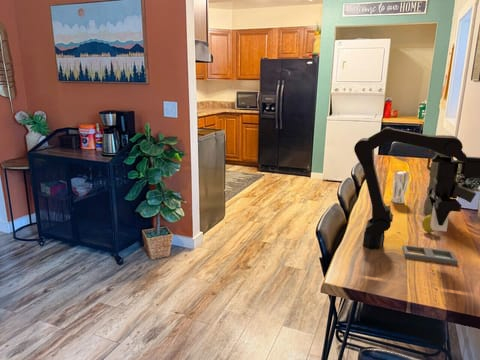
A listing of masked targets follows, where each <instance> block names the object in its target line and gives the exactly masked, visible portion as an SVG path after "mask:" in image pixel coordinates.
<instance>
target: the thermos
mask: <svg viewBox="0 0 480 360" xmlns="http://www.w3.org/2000/svg"><path fill="white" fill-rule="evenodd" d="M432 152H433V150H431V149H429V150H428V157H427V159H428V160H427V165H426V169H427V170H428V171H429V182H428V187H429V186H434V185H435V181H434V177H436V171H437V164H438V162H432V160H431V158H432ZM437 154H439V155H440V156H442V157H448V156H445V155H443V154H440V153H437V152H435V151H434V156H436V155H437ZM451 160H455V159H454V157H451ZM456 160H458V159H456ZM429 197H432V193H431V194H430V195H428V194H427V193H426V198H425V199H424V206H423V215H425V216H427V215H431V214H432V210H433V209H432V206H431V203H430V200H429Z"/></svg>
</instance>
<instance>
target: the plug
mask: <svg viewBox="0 0 480 360" xmlns="http://www.w3.org/2000/svg"><path fill="white" fill-rule="evenodd" d="M433 204H435V203H433ZM449 217H450V213H449V214H448V216H447V218H446V220H445V222H444V224H443V225H442V226H441V225H439V224H438V221H437V217H436V213H435V209H434V205H433V210H432V217H431V224H430V226H431V228H432V230H435V231H434V232H436V231H437V232H447V229H448V226H449Z"/></svg>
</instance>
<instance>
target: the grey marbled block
mask: <svg viewBox="0 0 480 360" xmlns="http://www.w3.org/2000/svg"><path fill="white" fill-rule="evenodd" d="M392 179H393V180H392V197H391V202H392V203H395V204H398V205H399V204H400V205H402V204H405V195H406V192H407V189H408V186H409V181H410V172H407V171H401V170H396V171H394V173H393V178H392Z"/></svg>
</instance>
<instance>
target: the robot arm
mask: <svg viewBox="0 0 480 360" xmlns="http://www.w3.org/2000/svg"><path fill="white" fill-rule="evenodd" d="M388 141H391V142H396V143H401V144H406V145H410V146H411V145H412V146H415V147H421V148H426V149H429V150H430V149H431V150H432V152H434V153H435V152H437V153H440V154H443V155H445V156H448V157H442V156H440V155H439V154H437V155H436V156H435V155H434V156H433V157H431V160H430V161H431V163H432V162H438V164H437V171H436V177H434V181H435V185H434V186H429V185H428V187H427V188H426V195H427V194H428V195H430V194H431V193H432V197H429V200H430V203H431V206H432V209H433V205H434V209H435V213H436V217H437V221H438V224H439V225H441V226H442V225H443V224H444V222H445V220H446V218H447V216H448V214H449V215H450V213H451V212H456V213H457V212H458V213H459V212H461V210H462V204H461V203H460V202H459V201H458V200H457V199H458V198H459V199H462V200H464V201H466V202H468V203H472V201H473V200H474V199H475V197H476V195H477V193H476V192H475V190H472V188H470V187H469V186H470V185H469V184H468V183H466V182H461V183H459V182H458V181H457V178H458V172H459V175H460V176H461V175H462V179H470V180H471V179H472V180H480V156H478V157H477V156H467V154H466V153H465V152H464V151H463V147H464V146H463V142H462V141H461V140H460V139H459V138H458V137H456V136H455V135H441V134H439V135H427V134H424V133H418V132H413V131H408V130H402V129H397V128H393V127H390V126H386V127H384V128H382V130H380V131H378V132H377V133H375V134H373V135H371V136H369V137H363V138H361V139H359V140H358V141H357V142H356V143H355V145H354V147H353V150H354V151H353V152H354V154H355V156H356V158H357V160H358V162H359V164H360V165H361V167H362V169H363V174H364V177H365V178H364V179H365V182H366V186H367V191H368V195H369V198H370V203H371V215H372V216H371V218H370V219H368V220H367V221H366V226H365V229H364V231H363V241H362V242H363V243H362V246H363V247H365V248H366V249H369V250H381V248H382V247H383V246H384V245H385V244H384V242H385V232H386V231H387V232H388V230H390V228H391V225H392V223H393V219H394V214H393V213H392V210H391V205H390V204H389V205H386V203H385V201H384V198H383V194H382V190H381V185H380V181H379V177H378V173H377V169H376V164H375V149H377V148H378V147H380V146H382V145H383V144H384V143H386V142H388ZM451 157H453V158H455V159H454V160H451ZM457 159H458V160H457ZM458 170H459V171H458ZM433 203H435V204H433Z"/></svg>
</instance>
